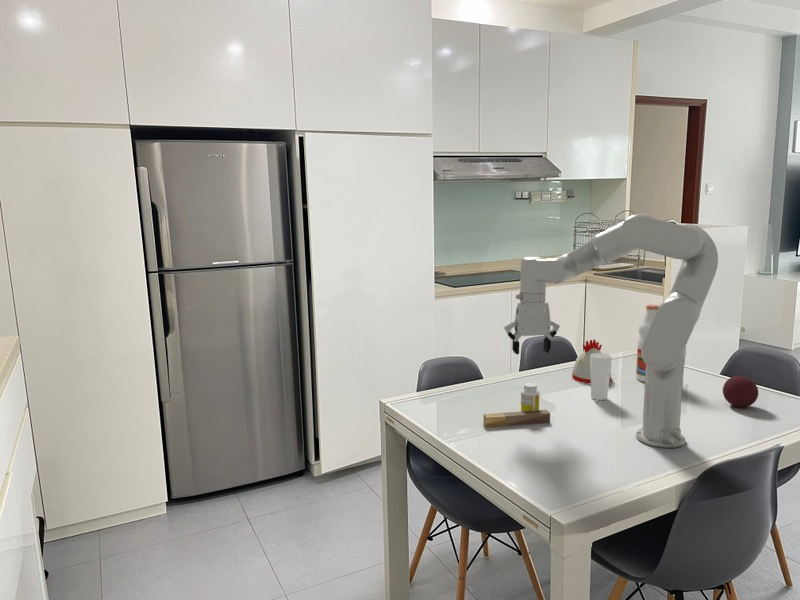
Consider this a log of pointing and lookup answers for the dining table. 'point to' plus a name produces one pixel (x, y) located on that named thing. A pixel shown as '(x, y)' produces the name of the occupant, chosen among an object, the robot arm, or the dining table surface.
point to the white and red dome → (585, 362)
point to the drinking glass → (600, 375)
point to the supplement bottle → (529, 397)
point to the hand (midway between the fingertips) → (531, 352)
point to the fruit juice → (643, 333)
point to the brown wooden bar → (516, 418)
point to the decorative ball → (740, 391)
